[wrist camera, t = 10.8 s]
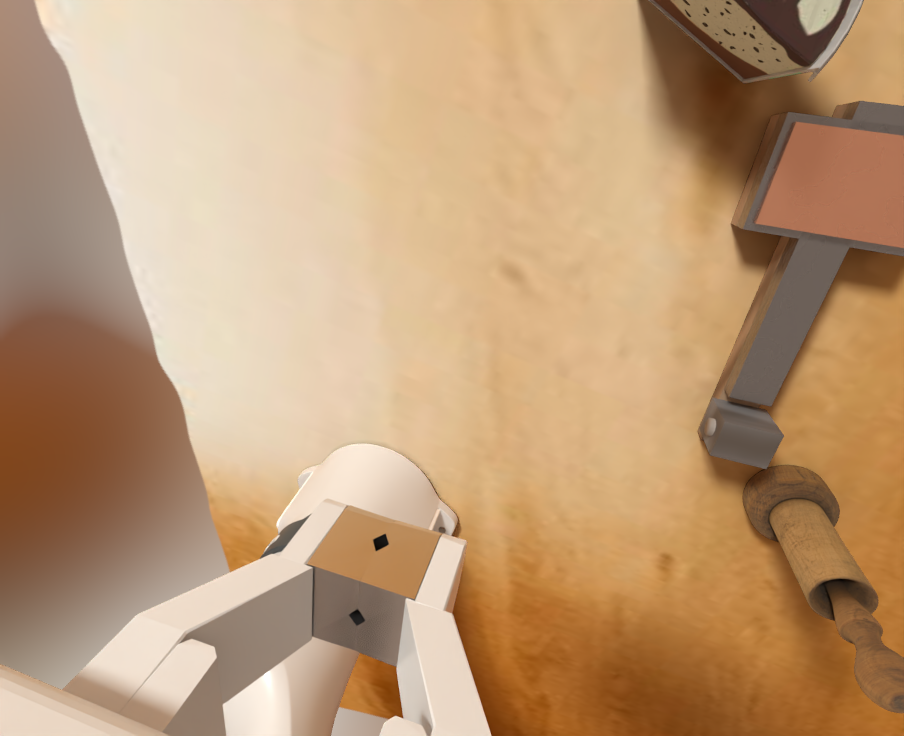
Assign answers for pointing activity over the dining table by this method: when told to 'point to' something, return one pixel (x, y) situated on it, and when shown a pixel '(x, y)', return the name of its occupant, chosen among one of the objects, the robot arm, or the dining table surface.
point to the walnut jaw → (728, 419)
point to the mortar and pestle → (826, 570)
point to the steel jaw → (817, 225)
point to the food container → (765, 33)
